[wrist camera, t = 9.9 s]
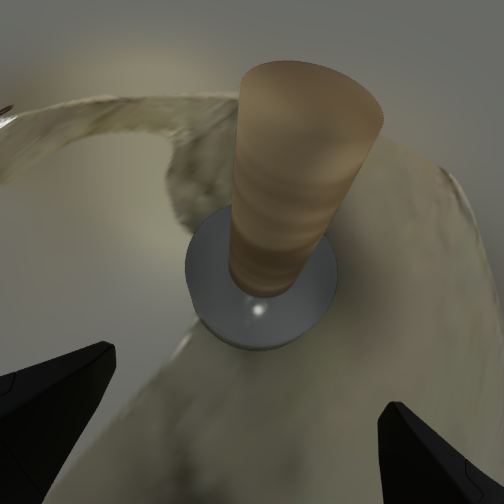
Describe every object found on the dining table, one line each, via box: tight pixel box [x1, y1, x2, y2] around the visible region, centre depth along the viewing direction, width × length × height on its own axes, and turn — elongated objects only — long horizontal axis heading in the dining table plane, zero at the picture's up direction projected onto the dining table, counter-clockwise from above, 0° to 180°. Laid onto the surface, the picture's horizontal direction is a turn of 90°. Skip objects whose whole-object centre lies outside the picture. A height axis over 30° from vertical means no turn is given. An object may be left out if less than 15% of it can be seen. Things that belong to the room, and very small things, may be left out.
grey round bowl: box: [185, 205, 338, 351], centre depth 21 cm, size 10×10×4 cm
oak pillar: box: [228, 61, 384, 298], centre depth 13 cm, size 4×4×12 cm
